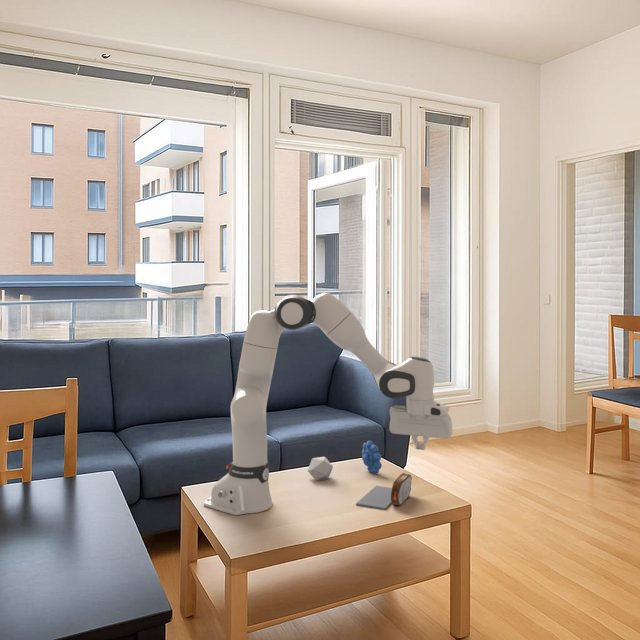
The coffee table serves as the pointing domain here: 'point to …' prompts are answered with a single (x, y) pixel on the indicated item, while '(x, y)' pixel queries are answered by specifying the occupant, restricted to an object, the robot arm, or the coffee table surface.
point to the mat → (377, 498)
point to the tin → (401, 489)
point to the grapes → (371, 457)
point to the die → (320, 468)
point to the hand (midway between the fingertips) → (420, 449)
